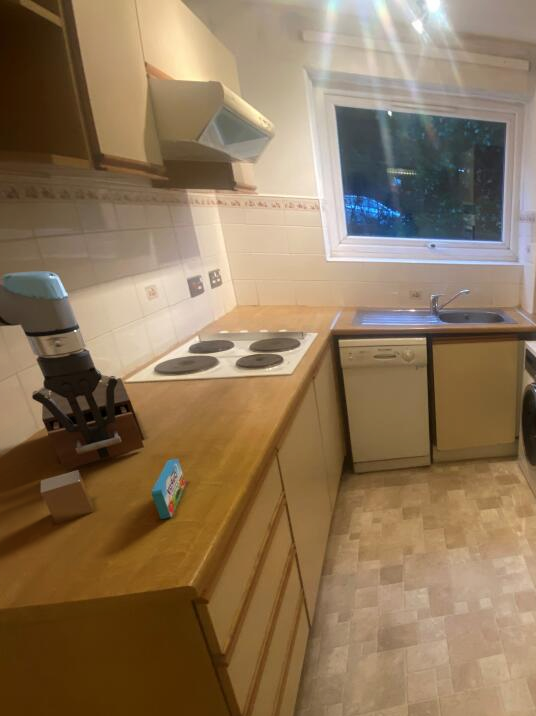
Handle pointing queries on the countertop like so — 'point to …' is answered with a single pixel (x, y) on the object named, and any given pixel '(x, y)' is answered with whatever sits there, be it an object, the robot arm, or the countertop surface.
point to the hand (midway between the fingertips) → (104, 455)
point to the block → (66, 496)
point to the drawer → (79, 453)
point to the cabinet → (100, 397)
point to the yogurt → (168, 488)
